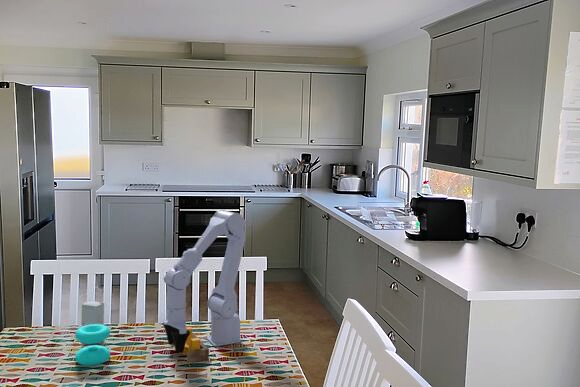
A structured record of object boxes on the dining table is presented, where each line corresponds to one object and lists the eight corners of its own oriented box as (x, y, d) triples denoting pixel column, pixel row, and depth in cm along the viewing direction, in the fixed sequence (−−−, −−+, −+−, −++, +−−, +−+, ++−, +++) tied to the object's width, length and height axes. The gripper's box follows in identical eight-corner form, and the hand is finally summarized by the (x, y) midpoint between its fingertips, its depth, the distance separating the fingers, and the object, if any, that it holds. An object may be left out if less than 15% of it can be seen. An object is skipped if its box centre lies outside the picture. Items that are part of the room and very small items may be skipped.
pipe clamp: (177, 347, 179) (177, 328, 178) (190, 345, 180) (191, 326, 180) (186, 361, 168) (186, 341, 167) (199, 360, 169) (200, 339, 169)
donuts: (117, 325, 168) (94, 336, 159) (117, 357, 169) (94, 369, 160) (91, 320, 172) (67, 331, 162) (91, 351, 173) (67, 363, 164)
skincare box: (80, 339, 182) (80, 304, 181) (88, 334, 186) (88, 300, 185) (96, 341, 180) (96, 306, 179) (104, 337, 185) (104, 302, 183)
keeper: (188, 338, 186) (188, 328, 185) (208, 359, 169) (208, 348, 169) (169, 341, 182) (169, 331, 182) (187, 363, 166) (188, 352, 166)
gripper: (157, 301, 177) (156, 342, 178) (170, 315, 164) (170, 359, 165) (178, 299, 180) (177, 338, 181) (193, 312, 167) (192, 355, 169)
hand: (175, 348), depth 174 cm, fingers open, 7 cm apart
